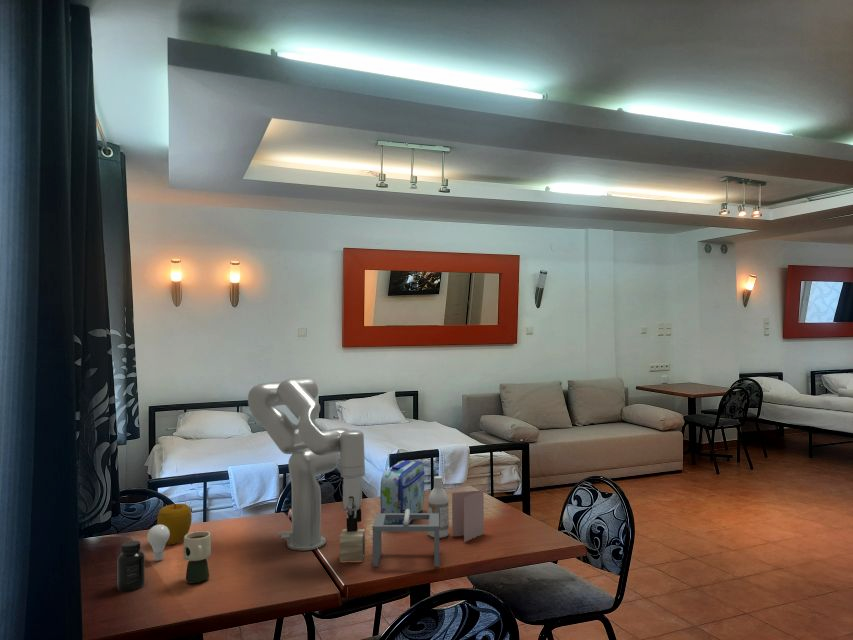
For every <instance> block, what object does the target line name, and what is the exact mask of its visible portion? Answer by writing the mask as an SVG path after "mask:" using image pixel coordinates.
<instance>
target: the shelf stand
mask: <svg viewBox="0 0 853 640" xmlns="http://www.w3.org/2000/svg"><path fill="white" fill-rule="evenodd" d="M387 519H404V522H403V524H404V525H397V524H396V525H394V524H385V520H387ZM409 519H413V520H428V519H429V521H428V524H410V523H409ZM429 531H434V537H433V538H434V539H433V543H434V544H433V549H434V550H433V552H434V553H433V555H434V557H433V558H434V563H433V564H434V568H435V567H437V568H438V567H439V568H440V538H439V513H428V512H427V513H426V512H425V513H421V512H419V513H410V510H409V509H406V510H405V513H381V512H379V513H376V515H375V518H374V521H373V524H372V567H373V566H378V567H379V564H378V563H380V560H381V559H380V558H381V555H382V546H383V545H382V543H383V542H382V532H393V533H394V532H397V533H398V532H429ZM379 559H380V560H379Z"/></svg>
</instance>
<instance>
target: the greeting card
mask: <svg viewBox="0 0 853 640" xmlns="http://www.w3.org/2000/svg"><path fill="white" fill-rule="evenodd" d="M484 497H485V496H484V490H473V491H471V490H470V491H460V492H459V491H458V492H452V493H451V503H452V505H451V507H452V508H451V511H452V512H451V513H452V519H451V522H452V523H451V525H452V527H451V529H452V530H451V531H452V537H453V536H455V537H461V536H460V535H464V536H463V543H464V542H465V543H467V542H468V540H469V541H471V540H473V539H475V538H478V537H480V536H482V535H484V533H485V532H484V530H485V528H484V527H485V525H484V524H485V523H484V522H485V521H484V520H485V519H484V515H485V513H484V512H485V511H484V509H485V508H484V507H485V506H484V504H485V503H484V500H485V499H484ZM477 536H478V537H477ZM472 538H473V539H472ZM470 539H471V540H470ZM466 541H467V542H466Z"/></svg>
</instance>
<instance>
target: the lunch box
mask: <svg viewBox="0 0 853 640" xmlns="http://www.w3.org/2000/svg"><path fill="white" fill-rule="evenodd" d="M424 468H425V467H424V463H423V462H422V461H421V460H419V461H415V460H413V461H411V460H401V461H399V462H397V463H396V464H394V465H392V466H391V467H389V468H388V469H386V470H385V471H384V472H383V473H382V475H381V480H380V487H379V488H380V490H379V491H380V493H379V494H380V495H379V496H380V513H405V510H406V509H409V510H410V513H421V511H422V509H423V505H424V502H425V501H424V500H425V474H426V473H425V469H424ZM413 520H414V519H409V524H410V523H411V522H412V521H413ZM403 522H404V519H387V520H385V524H384V525H404V524H403Z"/></svg>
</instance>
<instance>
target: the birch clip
mask: <svg viewBox="0 0 853 640" xmlns="http://www.w3.org/2000/svg"><path fill="white" fill-rule="evenodd" d="M365 532H366V530H365V528H363V529H361V528H358V530H357V531H356V532H347V528H345V529H343V528H342V530H341V533H339V534H340V535H339V562H340V561H363V562H364V556H363V555H366V533H365Z"/></svg>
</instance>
